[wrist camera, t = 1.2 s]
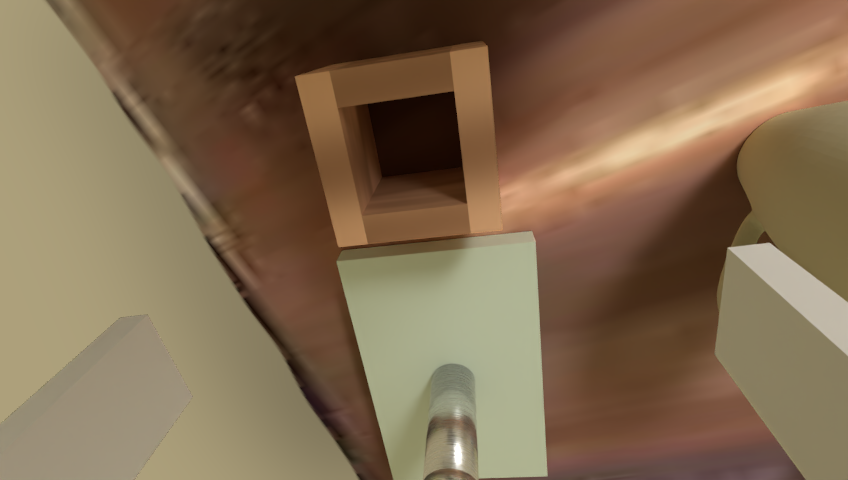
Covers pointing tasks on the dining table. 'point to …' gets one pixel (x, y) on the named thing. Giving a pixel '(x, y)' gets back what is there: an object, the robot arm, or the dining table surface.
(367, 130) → the collar
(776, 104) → the dining table surface
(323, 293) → the dining table surface
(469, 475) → the post
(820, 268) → the mug
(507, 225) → the dining table surface
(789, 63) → the dining table surface
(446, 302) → the post plate
